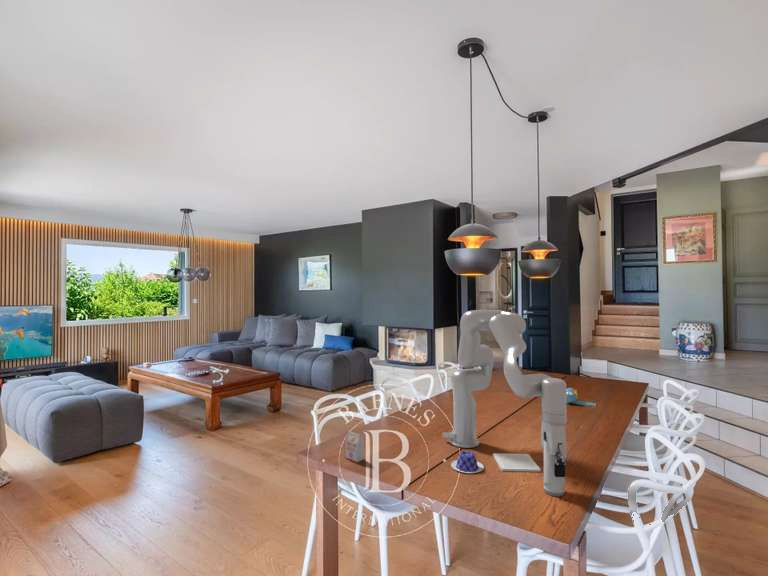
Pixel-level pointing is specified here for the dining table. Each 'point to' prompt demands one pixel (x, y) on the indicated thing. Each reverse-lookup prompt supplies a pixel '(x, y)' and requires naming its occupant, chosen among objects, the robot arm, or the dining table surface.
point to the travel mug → (552, 475)
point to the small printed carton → (354, 447)
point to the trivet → (516, 462)
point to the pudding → (467, 463)
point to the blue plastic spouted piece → (575, 398)
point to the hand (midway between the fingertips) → (554, 470)
